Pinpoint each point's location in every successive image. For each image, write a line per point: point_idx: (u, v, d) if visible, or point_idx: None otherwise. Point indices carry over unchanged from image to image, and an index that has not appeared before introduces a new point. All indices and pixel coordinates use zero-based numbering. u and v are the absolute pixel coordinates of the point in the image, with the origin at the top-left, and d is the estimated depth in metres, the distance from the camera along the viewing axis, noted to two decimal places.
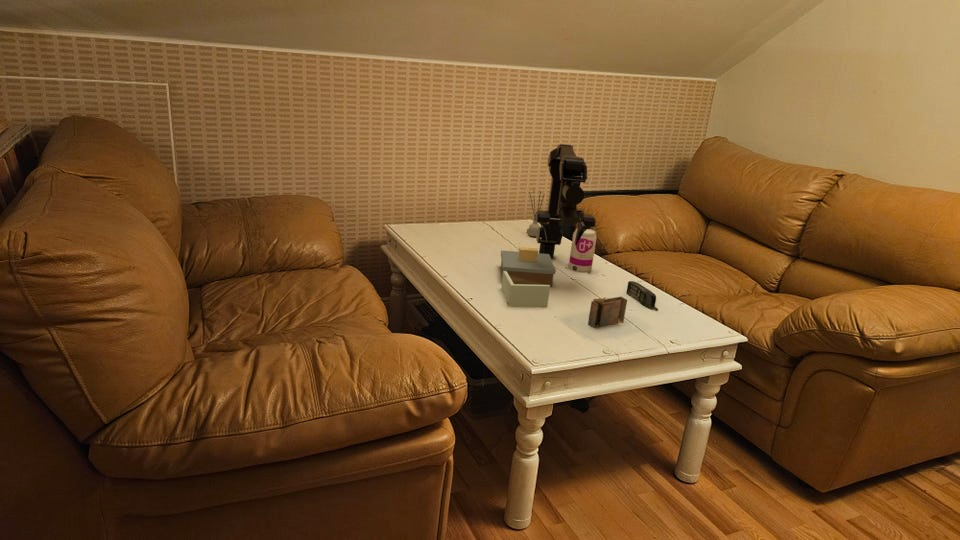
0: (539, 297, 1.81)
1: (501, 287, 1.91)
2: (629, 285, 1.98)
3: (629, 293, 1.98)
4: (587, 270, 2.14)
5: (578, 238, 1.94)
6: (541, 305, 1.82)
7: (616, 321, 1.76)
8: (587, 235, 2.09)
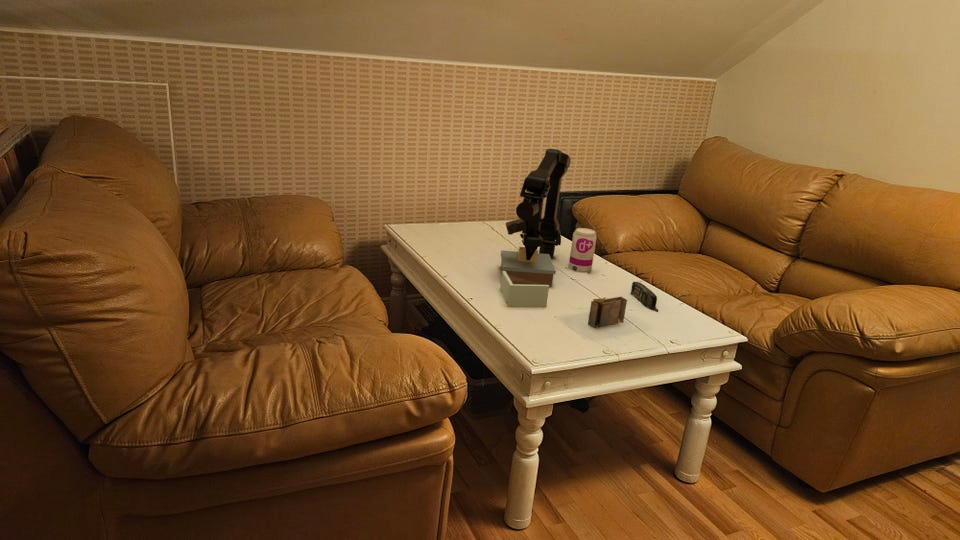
0: (538, 297, 1.81)
1: (500, 287, 1.91)
2: (633, 285, 1.98)
3: (633, 293, 1.98)
4: (587, 270, 2.14)
5: (526, 252, 1.99)
6: (540, 305, 1.82)
7: (616, 321, 1.76)
8: (587, 235, 2.09)
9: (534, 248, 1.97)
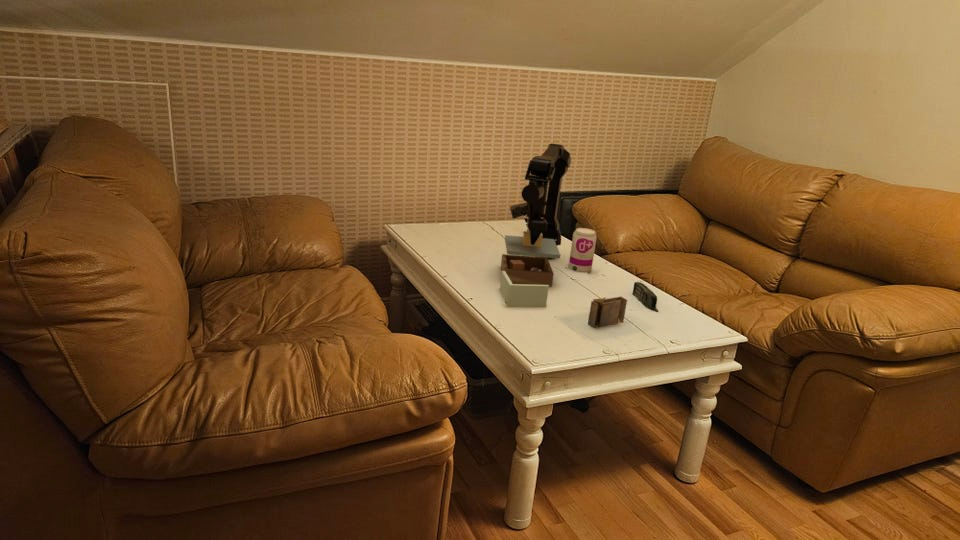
0: (538, 297, 1.81)
1: (500, 287, 1.91)
2: (635, 286, 1.98)
3: (634, 294, 1.98)
4: (587, 270, 2.14)
5: (530, 237, 1.97)
6: (540, 305, 1.82)
7: (616, 321, 1.76)
8: (587, 235, 2.09)
9: (538, 232, 1.95)
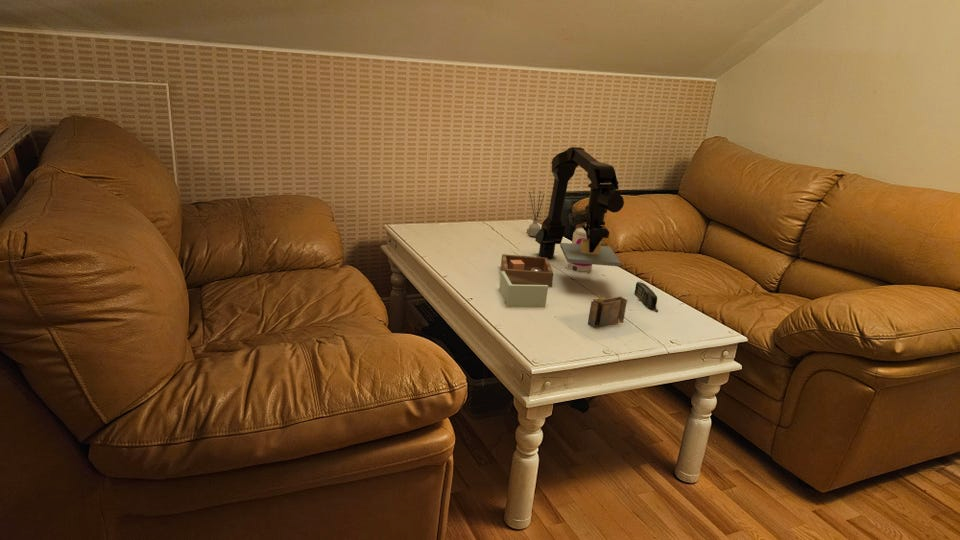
0: (537, 297, 1.81)
1: (499, 287, 1.91)
2: (636, 286, 1.98)
3: (636, 294, 1.98)
4: (587, 270, 2.14)
5: (589, 244, 1.94)
6: (539, 305, 1.82)
7: (616, 321, 1.76)
8: None
9: (598, 240, 1.92)
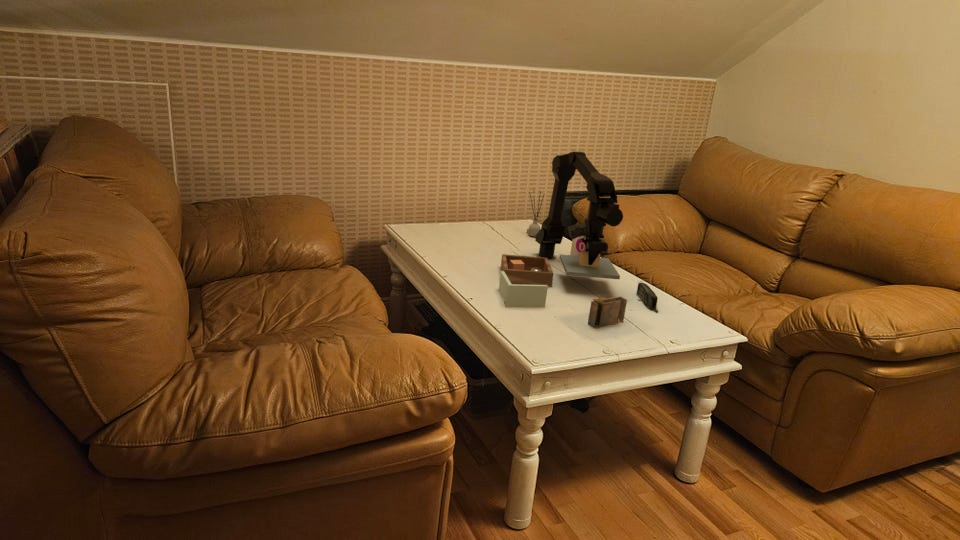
0: (537, 297, 1.81)
1: (499, 287, 1.91)
2: (638, 286, 1.98)
3: (638, 294, 1.98)
4: None
5: (588, 257, 1.96)
6: (539, 305, 1.82)
7: (616, 321, 1.76)
8: None
9: (597, 253, 1.94)
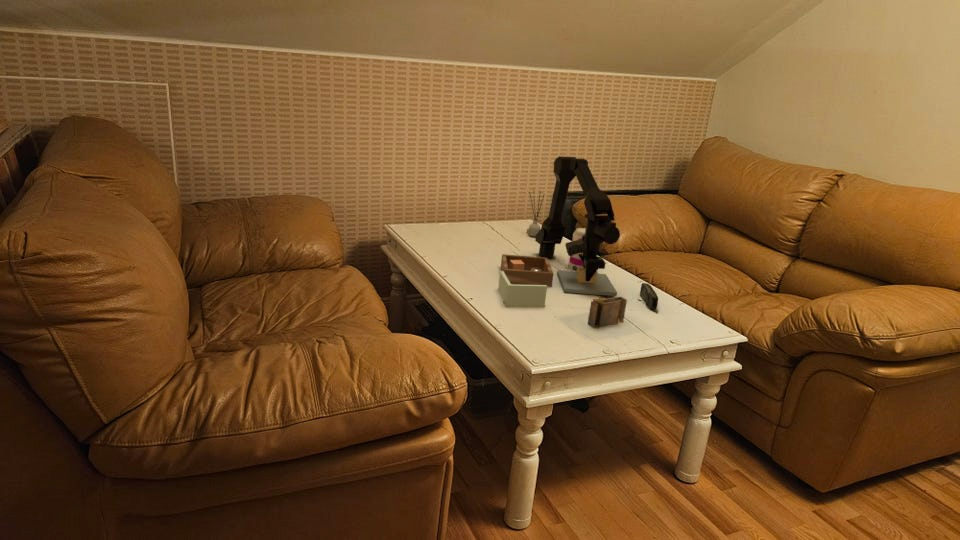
0: (536, 297, 1.81)
1: (498, 287, 1.91)
2: (641, 287, 1.98)
3: (641, 295, 1.98)
4: None
5: None
6: (538, 305, 1.82)
7: (616, 321, 1.76)
8: None
9: (594, 270, 1.96)
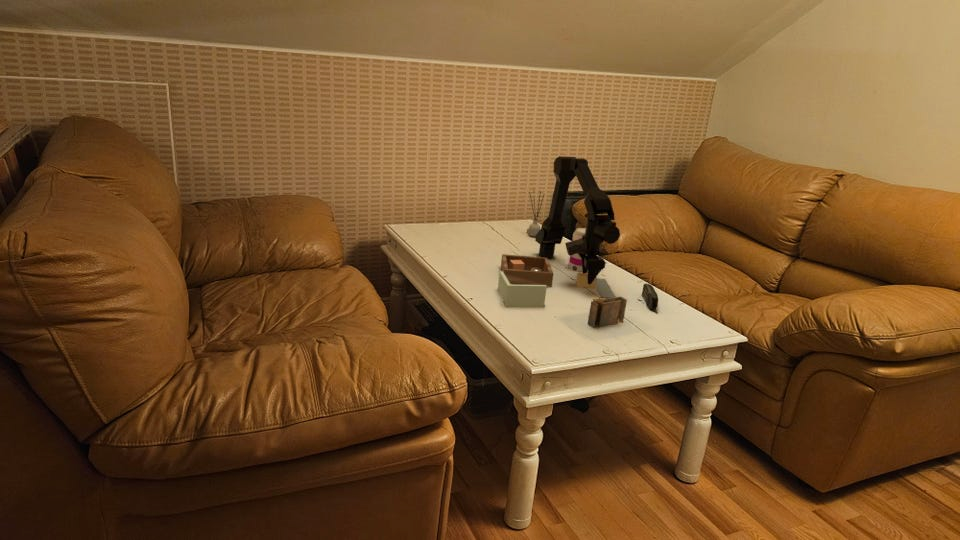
0: (536, 297, 1.81)
1: None
2: (643, 287, 1.97)
3: (642, 295, 1.98)
4: None
5: (587, 276, 1.95)
6: (538, 305, 1.82)
7: (616, 321, 1.76)
8: None
9: (596, 272, 1.93)
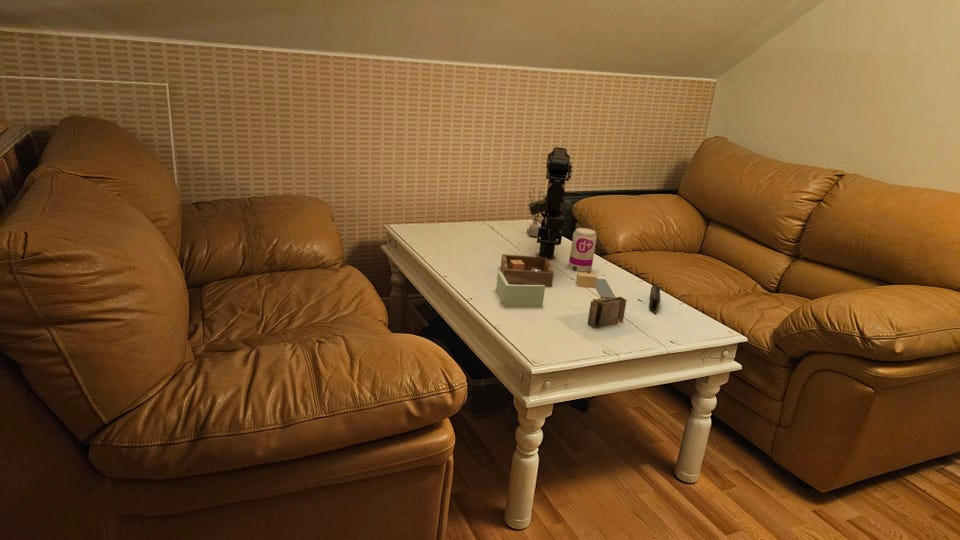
0: (534, 297, 1.81)
1: (496, 287, 1.90)
2: (651, 289, 1.97)
3: None
4: (587, 270, 2.14)
5: (549, 235, 2.04)
6: (536, 305, 1.82)
7: (615, 321, 1.76)
8: (587, 235, 2.09)
9: (557, 230, 2.03)
